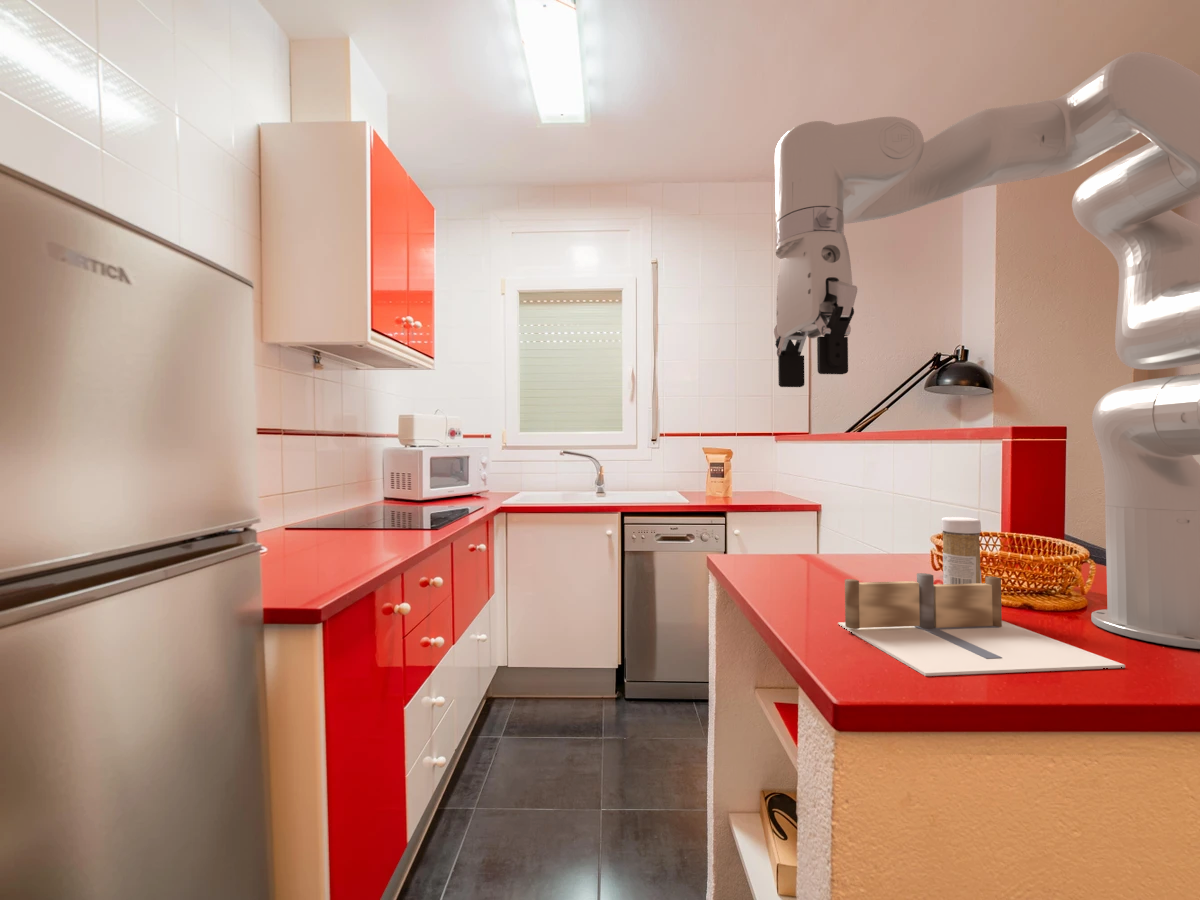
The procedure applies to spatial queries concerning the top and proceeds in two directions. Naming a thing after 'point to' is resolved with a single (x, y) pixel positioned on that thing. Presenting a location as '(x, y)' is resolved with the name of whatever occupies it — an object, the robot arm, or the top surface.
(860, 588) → the fence panel
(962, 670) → the board
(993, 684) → the top surface
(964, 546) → the sprinkles bottle
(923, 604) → the fixed fence
